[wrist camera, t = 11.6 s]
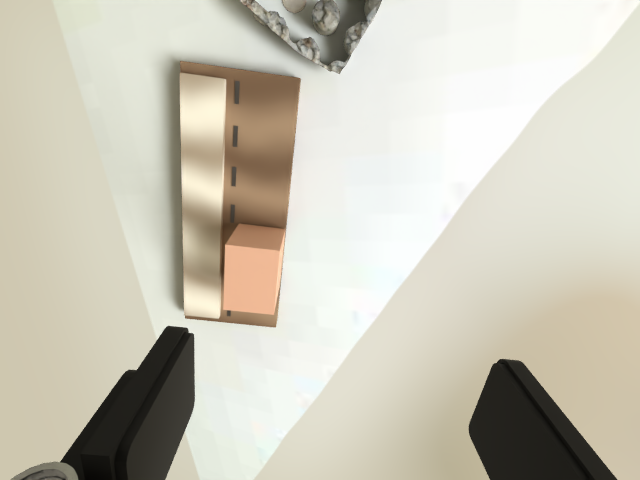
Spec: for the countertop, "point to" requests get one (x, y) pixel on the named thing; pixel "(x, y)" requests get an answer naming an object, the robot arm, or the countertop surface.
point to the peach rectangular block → (253, 269)
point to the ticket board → (231, 173)
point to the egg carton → (316, 26)
